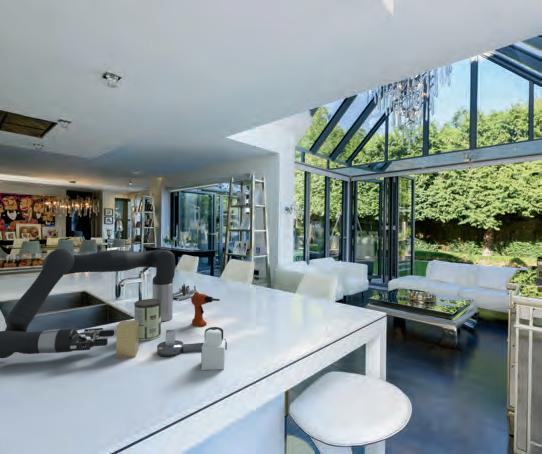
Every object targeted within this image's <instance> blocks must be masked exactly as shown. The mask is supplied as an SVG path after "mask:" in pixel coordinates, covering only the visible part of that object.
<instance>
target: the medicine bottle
mask: <svg viewBox="0 0 542 454" xmlns="http://www.w3.org/2000/svg"><path fill="white" fill-rule="evenodd" d="M223 339H224V329H223V328H221V327H219V326H210V327H208V328H206V329H205V330H204V340H203V342H202V343H203V346H202V351H200V352H201V362H200V363H201V364H200V367H201V371H219V370H221V371H223V370H224V369H225V364H226V350H225V342H227V340H226V341H225V340H223Z"/></svg>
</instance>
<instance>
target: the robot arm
mask: <svg viewBox="0 0 542 454" xmlns="http://www.w3.org/2000/svg"><path fill="white" fill-rule="evenodd" d="M41 266H42V269H41V271H40V273H39V275H38V276H37V277H36V278H35V280H34V282H33V283H32V284H31V285H30V286H29V288H28V289H27V290H26V291H25V292H24V294H23V295H22V296H21V297H20V298H19V299H18V301H17V302H16V304H15V305H14V306H13V308H12V309H11V310H10V312H9V313H8V314H7V316H6V317H5V320H4V323H5V325H6V327H5V329H4V330H1V331H0V359H5V358H6V359H7V358H9V357H11V356H12V355H14V354H15V353H20V354H22V355H36V354H37V355H38V354H57V353H58V354H59V353H69V352H76V351H77V352H79V351H89V350H91V348H92V349H93V348H95V347H104V346H105V347H106V346H107V345H108V339H109V338H108V337H114V336H115V330H114V329H105V330H104V329H103V328H104V327H95V328H85V329H84V331H81V332H78V330H77V329H76V328H58V329H57V328H56V329H48V330H39V331H38V330H37V331H35V330H34V331H27V330H28V328H29V326H30V324H31V322H32V321H33V320H34V319H35V317H36V315H37V314H38V312H39V311H40V309H41V308H42V306H43V304H44V302H45V301H46V300H47V299H48V296H49V295H50V293H51V292H52V290H53V288H55V286H56V285H57V284H58V283H59V281H60V280H61V279H62V278H63V276H65V275H66V276H67V275H72V274H79V273H81V274H82V273H115V272H116V273H117V272H124V271H125V272H127V271H130V270H135V269H137V268H155V270H156V271H155V276H153V278H152V298H151V299H159V300H161V322H166V321H167V322H168V321H171V320H172V319H173V314H174V313H173V308H174V307H173V306H174V304H173V301H174V299H173V297H174V295H173V292H174V291H173V290H174V288H173V287H174V278H175V270H176V257H175V254H174V253H173V252H172V251H171V250H167V249H154V250H153V249H152V250H147V251H137V250H136V251H135V250H127V249H126V250H124V249H122V250H120V249H118V250H116V249H115V250H113V249H112V250H111V249H110V250H104V251H103V250H101V251H98V252H93V253H88V254H73V252H72V251H71V250H69V249H67V248H57V249H54V250H51V252H50V253H48V254H47V255H46V256H45V257H44V259H43V261H42V265H41Z"/></svg>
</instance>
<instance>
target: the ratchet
mask: <svg viewBox="0 0 542 454" xmlns="http://www.w3.org/2000/svg"><path fill="white" fill-rule="evenodd" d="M223 340H225V341H226V342H225V351H226V350H228V347H227V346H228V345H227V344H228V343H227V338H223ZM203 343H204V342H195V343H184V342H183V341H182V340H178V339H177V340H176V329H166V331H165V341H161V342H159V343H158V344H157V345H156V355H157V356H158V357H161V358H171V357H172V356H173V357H176V355H177V356H179V355H181V354H182V353H191V352H192V353H194V351H195V352H201V351H202V346H203Z"/></svg>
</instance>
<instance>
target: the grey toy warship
mask: <svg viewBox="0 0 542 454" xmlns="http://www.w3.org/2000/svg"><path fill="white" fill-rule="evenodd" d="M178 290H179V291H176V292H174V293H173V300H176V301H177V300H178V301H180V300H181V301H182V300H185V299H187V298H189V297H190V296H193V295H194V294H195V293H196V292H198V290H197V287H196V285H193V289H191V290H190V285H187V286H186V283H183V285H181V288H178ZM180 294H182V297H179V298H178V297H175V296H178V295H180Z"/></svg>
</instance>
